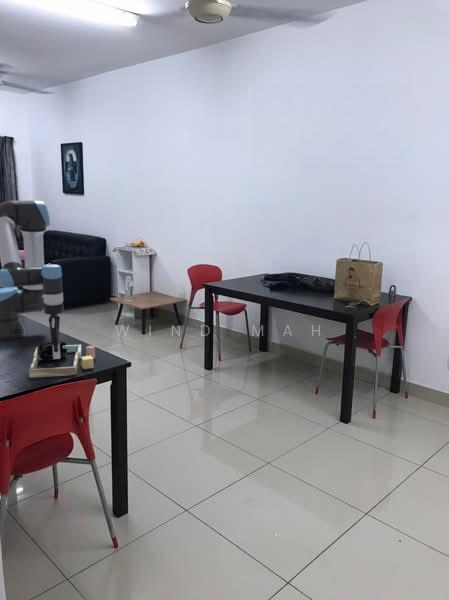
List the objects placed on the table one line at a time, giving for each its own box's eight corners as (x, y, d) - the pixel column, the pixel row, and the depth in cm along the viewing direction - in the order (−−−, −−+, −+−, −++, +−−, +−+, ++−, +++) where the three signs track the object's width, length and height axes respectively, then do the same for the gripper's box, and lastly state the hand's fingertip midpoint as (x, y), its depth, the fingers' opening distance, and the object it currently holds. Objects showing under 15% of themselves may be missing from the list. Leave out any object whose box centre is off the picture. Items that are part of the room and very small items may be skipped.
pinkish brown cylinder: (86, 357, 204) (86, 345, 203) (95, 356, 205) (94, 345, 204) (86, 359, 201) (85, 348, 200) (95, 359, 202) (94, 348, 200)
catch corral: (37, 353, 207) (36, 346, 206) (81, 350, 211) (81, 344, 211) (33, 361, 197) (33, 355, 196) (80, 359, 201) (80, 352, 201)
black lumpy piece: (60, 354, 207) (57, 339, 207) (68, 355, 202) (66, 339, 202) (38, 360, 200) (35, 344, 199) (46, 361, 195) (44, 345, 194)
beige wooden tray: (35, 361, 197) (35, 354, 196) (78, 359, 201) (78, 352, 201) (29, 377, 181) (28, 370, 180) (76, 374, 185) (75, 367, 184)
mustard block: (81, 366, 194) (81, 356, 193) (91, 364, 196) (90, 355, 195) (83, 369, 191) (83, 360, 190) (93, 367, 192) (93, 358, 192)
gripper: (45, 299, 197) (49, 353, 202) (41, 307, 184) (45, 364, 190) (64, 299, 198) (67, 352, 204) (61, 306, 186) (65, 363, 192)
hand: (56, 358), depth 197 cm, fingers closed
